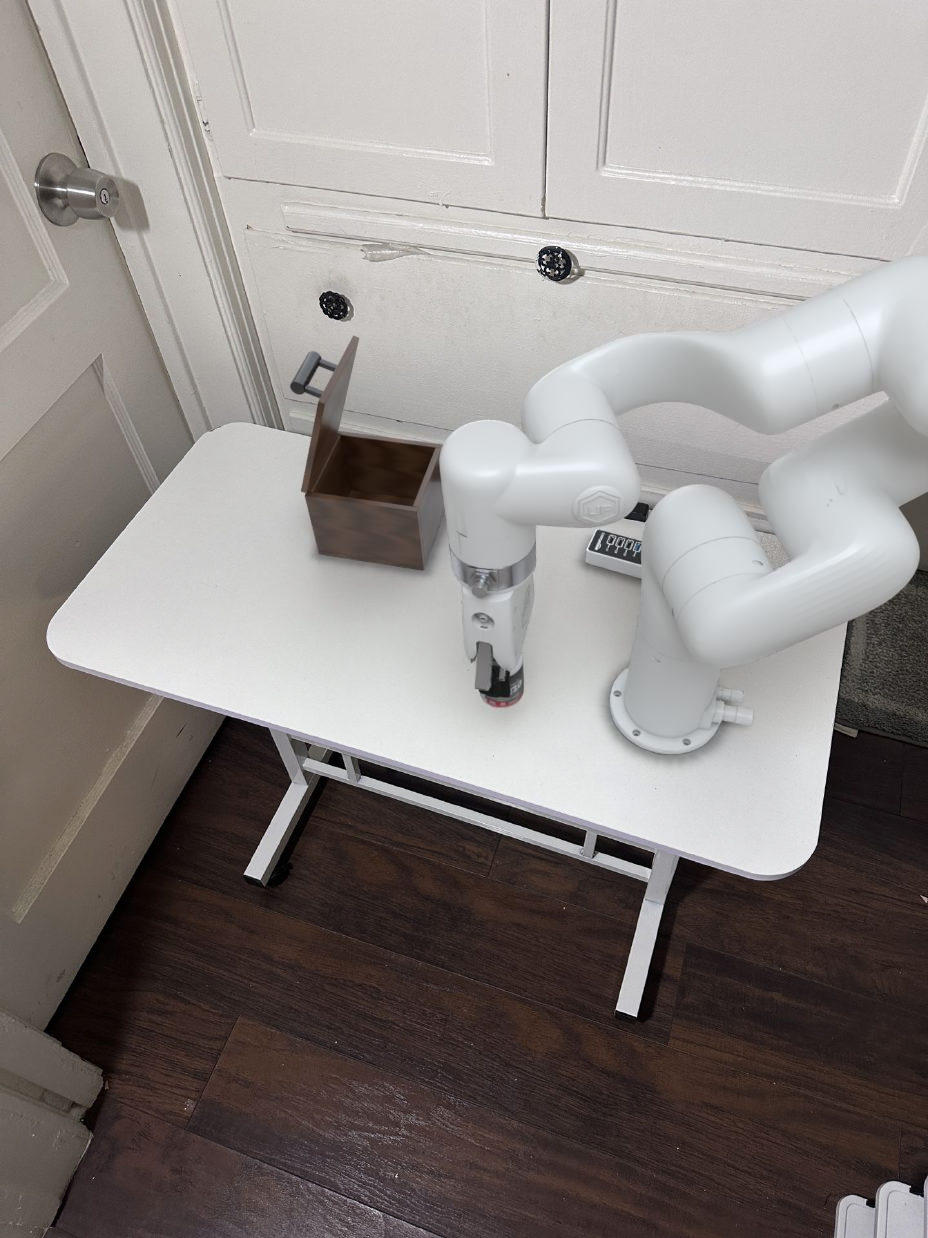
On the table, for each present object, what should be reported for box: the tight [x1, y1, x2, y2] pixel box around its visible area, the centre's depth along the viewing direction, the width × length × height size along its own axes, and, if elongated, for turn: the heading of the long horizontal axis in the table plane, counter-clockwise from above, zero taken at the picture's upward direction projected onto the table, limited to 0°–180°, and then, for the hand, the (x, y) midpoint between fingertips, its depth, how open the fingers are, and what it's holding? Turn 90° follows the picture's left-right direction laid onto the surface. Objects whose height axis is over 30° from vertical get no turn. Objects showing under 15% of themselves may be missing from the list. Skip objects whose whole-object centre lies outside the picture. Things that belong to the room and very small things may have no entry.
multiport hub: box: [584, 528, 642, 580], centre depth 118 cm, size 4×14×2 cm, turn 67°
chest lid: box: [289, 335, 360, 494], centre depth 111 cm, size 15×13×5 cm
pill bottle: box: [479, 651, 525, 709], centre depth 94 cm, size 5×5×8 cm
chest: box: [304, 430, 445, 571], centre depth 121 cm, size 15×13×11 cm
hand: (500, 670), depth 94 cm, fingers closed on pill bottle, 4 cm apart
